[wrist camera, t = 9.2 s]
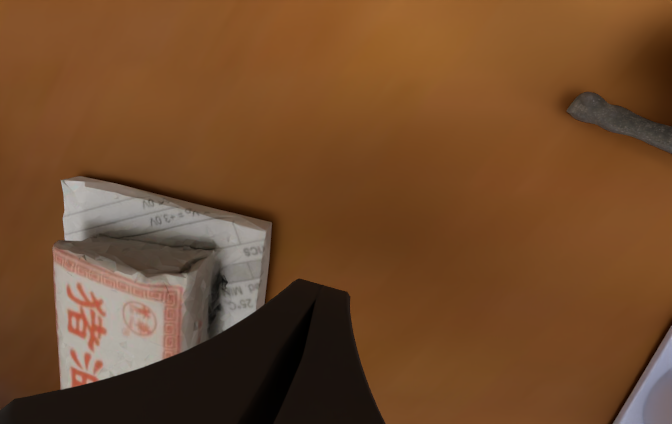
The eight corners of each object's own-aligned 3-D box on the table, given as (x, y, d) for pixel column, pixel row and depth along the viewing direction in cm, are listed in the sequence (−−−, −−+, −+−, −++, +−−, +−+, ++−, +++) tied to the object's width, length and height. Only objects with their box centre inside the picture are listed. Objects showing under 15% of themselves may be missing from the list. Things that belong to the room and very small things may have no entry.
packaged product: (208, 573, 23) (29, 517, 24) (242, 487, 28) (90, 442, 29) (240, 264, 16) (-10, 203, 17) (279, 215, 21) (78, 169, 22)
